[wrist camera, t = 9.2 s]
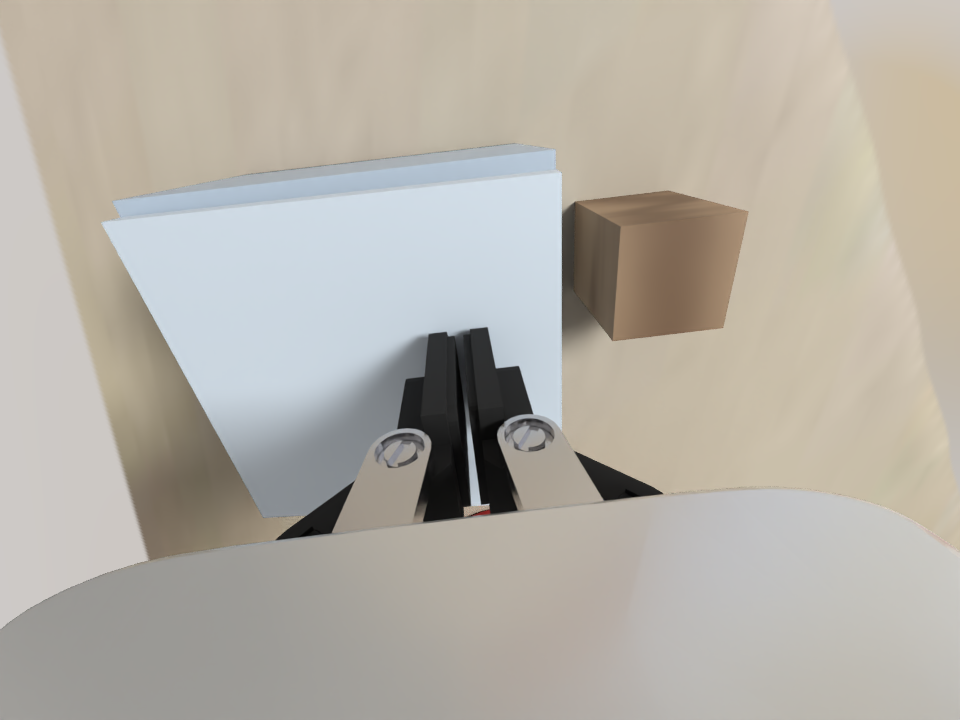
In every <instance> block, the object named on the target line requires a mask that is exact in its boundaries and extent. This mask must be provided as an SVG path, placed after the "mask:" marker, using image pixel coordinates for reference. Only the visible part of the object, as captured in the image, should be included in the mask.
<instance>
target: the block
mask: <svg viewBox="0 0 960 720" xmlns="http://www.w3.org/2000/svg"><path fill="white" fill-rule="evenodd" d="M747 216H748V211H744V210H740V209H737V208H733V207H729V206H725V205H721V204H717V203H714V202H710V201H706V200H702V199H698V198H694V197H691V196H687V195H683V194H679V193H675V192H671V191H661V192H653V193H644V194H636V195H627V196H619V197H611V198H602V199H594V200H585V201H577V202H575V239H574V292H575V293H576V294H577V296H578V297H579V298H580V300H581V301H582V302H583V303H584V305H585V306H586V307H587V309H588V310H589V311H590V312H591V314H592V315H593V316H594V318H595V319H596V320H597V321H598V323H599V324H600V325H601V327H602V328H603V329H604V330H605V332H606V333H607V334H608V336H609V337H610V338H611V339H612V341H618V340H626V339H635V338H643V337H651V336H660V335H668V334H677V333H685V332H693V331H702V330H710V329H719V328H723V326H724V321H725V317H726V312H727V308H728V303H729V299H730V294H731V289H732V285H733V280H734V276H735V271H736V267H737V262H738V257H739V253H740V248H741V244H742V239H743V235H744V230H745V226H746V221H747Z"/></svg>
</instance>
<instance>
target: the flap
mask: <svg viewBox="0 0 960 720" xmlns="http://www.w3.org/2000/svg"><path fill="white" fill-rule="evenodd" d="M101 223H102V225H103V227H104V229H105V231H106V233H107V234H108V236H109V238H110V240H111V242H112V243H113V245H114V247H115V249H116V251H117V253H118V254H119V256H120V258H121V260H122V262H123V263H124V265H125V267H126V269H127V271H128V273H129V274H130V276H131V278H132V280H133V282H134V284H135V285H136V287H137V289H138V291H139V293H140V294H141V296H142V298H143V300H144V302H145V304H146V305H147V307H148V309H149V311H150V313H151V314H152V316H153V318H154V320H155V322H156V324H157V325H158V327H159V329H160V331H161V333H162V334H163V336H164V338H165V340H166V342H167V344H168V345H169V347H170V349H171V351H172V353H173V355H174V356H175V358H176V360H177V362H178V364H179V365H180V367H181V369H182V371H183V373H184V375H185V376H186V378H187V380H188V382H189V384H190V385H191V387H192V389H193V391H194V393H195V395H196V396H197V398H198V400H199V402H200V404H201V405H202V407H203V409H204V411H205V413H206V415H207V416H208V418H209V420H210V422H211V424H212V426H213V427H214V429H215V431H216V433H217V435H218V436H219V438H220V440H221V442H222V444H223V446H224V447H225V449H226V451H227V453H228V455H229V456H230V458H231V460H232V462H233V464H234V466H235V467H236V469H237V471H238V473H239V475H240V476H241V478H242V480H243V482H244V484H245V486H246V487H247V489H248V491H249V493H250V495H251V496H252V498H253V500H254V502H255V504H256V506H257V507H258V509H259V511H260V513H261V515H262V517H263V518H269V517H287V516H305V515H308V514H309V513H311V512H312V511H314V510H315V509H316V508H318V507H319V506H320V505H322V504H323V503H325V502H326V501H327V500H329V499H330V498H331V497H333V496H334V495H336V494H337V493H338V492H340V491H341V490H342V489H344V488H345V487H346V486H348V485H349V484H351V483H352V482H353V481H355V479H356V477H357V475H358V473H359V470H360V468H361V466H362V464H363V461H364V459H365V457H366V455H367V452H368V450H369V449H370V447H371V446H372V444H373V443H374V442H375V441H376V440H377V439H378V438H379V437H381V436H383V435H385V434H386V433H388V432H391V431H394V430H397V426H398V421H399V415H400V409H401V403H402V397H403V391H404V386H405V381H406V379H408V378H417V377H424V376H425V365H426V355H427V345H428V335H429V334H432V333H440V332H447V334H448V336H455V341H456V348H457V355H458V363H459V370H460V377H461V384H462V391H463V399H464V406H465V414H466V427H467V444H468V460H469V477H470V493H471V506H481V501H480V493H479V486H478V478H477V471H476V464H475V456H474V449H473V441H472V434H471V426H470V418H469V409H468V397H467V382H466V368H465V354H464V340H463V335H465V334H470V329H475V328H484V327H488V331H489V336H490V341H491V346H492V351H493V356H494V361H495V367H496V368H504V367H512V366H519V368H520V370H521V374H522V377H523V381H524V384H525V387H526V391H527V394H528V397H529V401H530V404H531V407H532V411H533V414H534V415H540V416H544V417H547V418H549V419H550V420H552V421H554V422H555V423H556V424H557V425H558V427H559V428H560V429H561V431H562V172H560V171H559V170H557V169H556V170H546V171H537V172H528V173H519V174H510V175H501V176H491V177H482V178H473V179H464V180H455V181H446V182H437V183H427V184H418V185H409V186H400V187H391V188H382V189H372V190H363V191H354V192H345V193H336V194H327V195H317V196H308V197H299V198H290V199H281V200H272V201H262V202H253V203H244V204H235V205H226V206H217V207H208V208H198V209H189V210H180V211H171V212H162V213H153V214H143V215H134V216H125V217H121V218H117V219H113V220H109V221H104V222H101ZM484 505H489V504H484Z"/></svg>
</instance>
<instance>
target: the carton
mask: <svg viewBox="0 0 960 720" xmlns="http://www.w3.org/2000/svg"><path fill="white" fill-rule="evenodd" d="M546 170H556V154H555V149H550V148H543V147H536V146H529V145H523V144H516V143H514V144H505V145H496V146H488V147H479V148H471V149H462V150H454V151H445V152H437V153H428V154H419V155H411V156H402V157H394V158H385V159H377V160H368V161H359V162H351V163H342V164H334V165H325V166H317V167H308V168H300V169H291V170H282V171H274V172H265V173H257V174H248V175H242V176H237V177H232V178H227V179H222V180H217V181H212V182H207V183H202V184H196V185H191V186H186V187H181V188H176V189H171V190H166V191H161V192H156V193H151V194H146V195H141V196H136V197H131V198H126V199H121V200H115V201H112V202H113V204H114V206H115V208H116V210H117V212H118V213H119V215H120V217H125V216H134V215H143V214H153V213H162V212H171V211H180V210H189V209H198V208H208V207H217V206H226V205H235V204H244V203H253V202H262V201H272V200H281V199H290V198H299V197H308V196H317V195H327V194H336V193H345V192H354V191H363V190H372V189H382V188H391V187H400V186H409V185H418V184H427V183H437V182H446V181H455V180H464V179H473V178H482V177H491V176H501V175H510V174H519V173H528V172H537V171H546Z"/></svg>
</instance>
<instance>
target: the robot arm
mask: <svg viewBox="0 0 960 720" xmlns="http://www.w3.org/2000/svg"><path fill="white" fill-rule="evenodd" d="M463 340H464V354H465V368H466V382H467V397H468V409H469V418H470V426H471V434H472V441H473V449H474V456H475V464H476V471H477V478H478V486H479V493H480V501H481V505H484V504H489V506H490V514H486V515H478V516H470V517H464V507H468V506H471V493H470V477H469V460H468V444H467V427H466V414H465V406H464V399H463V391H462V384H461V377H460V370H459V363H458V355H457V348H456V341H455V336H448V334H447V332H440V333H432V334H429V335H428V345H427V355H426V365H425V376H424V377H417V378H408V379H406V381H405V386H404V391H403V397H402V403H401V409H400V415H399V421H398V426H397V430H394V431H391V432H388V433H386V434H385V435H383V436H381V437H379V438H378V439H377V440H376V441H375V442H374V443H373V444H372V446H371V447H370V449H369V450H368V452H367V455H366V457H365V459H364V461H363V464H362V466H361V468H360V470H359V473H358V475H357V477H356V479H355V481H353V482H352V483H351V484H349V485H348V486H346V487H345V488H344V489H342V490H341V491H340V492H338V493H337V494H336V495H334V496H333V497H331V498H330V499H329V500H327V501H326V502H325V503H323V504H322V505H320V506H319V507H318V508H316V509H315V510H314V511H312V512H311V513H309V514H308V515H307V516H305V517H304V518H303V519H301V520H300V521H299V522H297V523H296V524H294V525H293V526H292V527H290V528H289V529H288V530H286V531H285V532H284V533H283V534H282V535H281V536H279V537H278V538H277V539H276V540H275V541H267V542H260V543H252V544H244V545H236V546H229V547H223V548H216V549H210V550H204V551H197V552H191V553H185V554H179V555H172V556H167V557H163V558H158V559H154V560H150V561H145V562H141V563H137V564H134V565H131V566H128V567H125V568H121V569H118V570H115V571H112V572H109V573H105V574H103V575H100V576H98V577H95V578H93V579H90V580H88V581H86V582H83V583H81V584H78V585H76V586H73V587H71V588H68V589H66V590H64V591H62V592H60V593H58V594H56V595H54V596H52V597H50V598H48V599H46V600H44V601H42V602H41V603H39V604H37V605H35V606H33V607H31V608H30V609H28V610H26V611H25V612H24V613H22V614H20V615H19V616H18V617H16V618H15V619H13V620H12V621H10V622H9V623H8V624H7V625H6V626H4V627H3V628H2V629H1V630H0V720H960V551H959V550H958V549H956V548H955V547H954V546H952V545H951V544H949V543H948V542H946V541H945V540H943V539H942V538H940V537H939V536H938V535H936V534H934V533H933V532H931V531H930V530H928V529H927V528H925V527H923V526H922V525H920V524H919V523H917V522H915V521H913V520H911V519H909V518H908V517H906V516H904V515H902V514H900V513H898V512H896V511H893V510H891V509H888V508H886V507H884V506H881V505H878V504H875V503H871V502H868V501H865V500H861V499H857V498H853V497H849V496H845V495H840V494H834V493H828V492H823V491H817V490H811V489H801V488H787V487H739V488H726V489H714V490H701V491H688V492H679V493H671V494H663V493H662V492H660V491H658V490H657V489H655V488H653V487H652V486H649V485H647V484H645V483H643V482H641V481H638V480H636V479H634V478H632V477H630V476H628V475H625V474H623V473H621V472H619V471H617V470H614V469H612V468H610V467H608V466H606V465H604V464H601V463H599V462H597V461H595V460H593V459H590V458H588V457H586V456H584V455H582V454H580V453H577V452H575V451H573V449H572V448H571V446H570V444H569V443H568V441H567V439H566V438H565V436H564V434H563V433H562V431H561V429H560V428H559V427H558V425H557V424H556V423H555V422H554V421H552V420H550V419H549V418H547V417H544V416H540V415H534V414H533V411H532V407H531V404H530V401H529V397H528V394H527V391H526V387H525V384H524V381H523V377H522V374H521V370H520V368H519V366H512V367H504V368H496V367H495V361H494V356H493V351H492V346H491V341H490V336H489V331H488V327H484V328H475V329H470V334H465V335H463Z"/></svg>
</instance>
